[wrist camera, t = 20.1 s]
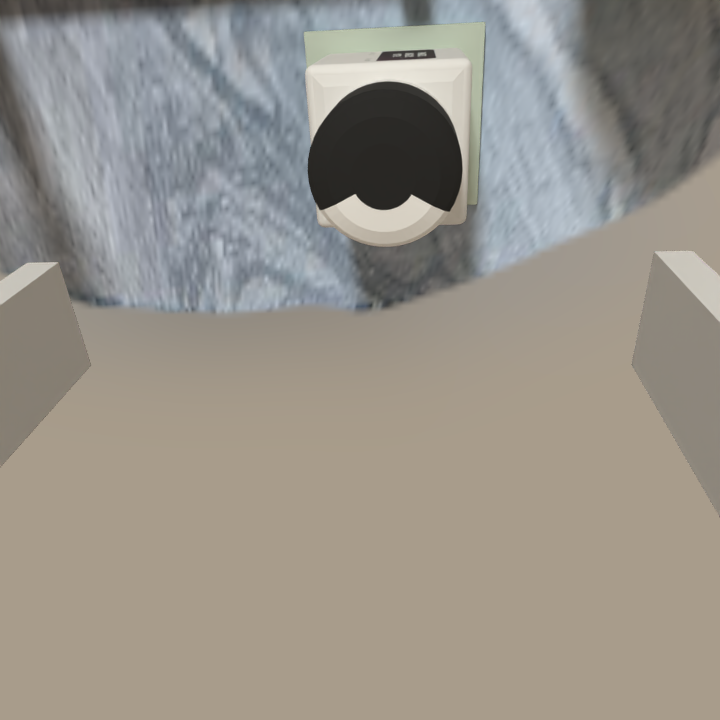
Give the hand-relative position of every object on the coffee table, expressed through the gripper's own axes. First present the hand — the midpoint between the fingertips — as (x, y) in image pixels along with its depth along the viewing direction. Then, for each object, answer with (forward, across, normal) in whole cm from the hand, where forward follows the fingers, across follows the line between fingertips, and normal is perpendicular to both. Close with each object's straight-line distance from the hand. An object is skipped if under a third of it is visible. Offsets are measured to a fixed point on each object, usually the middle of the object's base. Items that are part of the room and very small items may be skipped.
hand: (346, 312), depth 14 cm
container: (+26, 0, 0) cm, 26 cm away
